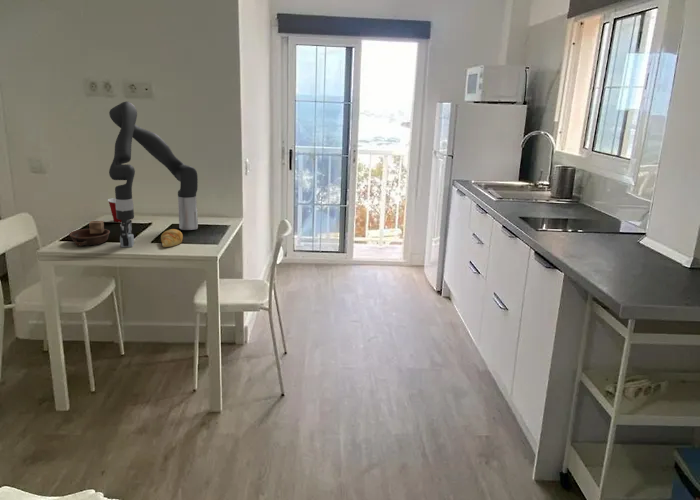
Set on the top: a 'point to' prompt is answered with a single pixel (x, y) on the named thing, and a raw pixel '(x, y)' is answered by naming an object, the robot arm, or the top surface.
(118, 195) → the robot arm
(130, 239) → the grey block
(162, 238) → the croissant
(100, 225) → the walnut block
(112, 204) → the plastic cup
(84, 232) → the dish
